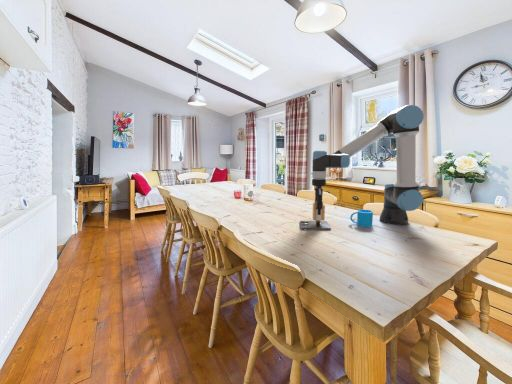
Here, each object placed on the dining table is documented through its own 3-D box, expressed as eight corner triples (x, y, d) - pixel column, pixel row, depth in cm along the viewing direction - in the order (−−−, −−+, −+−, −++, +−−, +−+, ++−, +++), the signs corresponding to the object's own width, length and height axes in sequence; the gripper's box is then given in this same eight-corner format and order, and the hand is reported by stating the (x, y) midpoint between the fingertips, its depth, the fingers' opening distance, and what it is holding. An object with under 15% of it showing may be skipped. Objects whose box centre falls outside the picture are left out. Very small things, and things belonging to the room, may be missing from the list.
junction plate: (327, 222, 147) (327, 212, 146) (330, 230, 133) (331, 219, 132) (300, 222, 149) (300, 212, 148) (301, 229, 135) (301, 218, 134)
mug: (371, 223, 145) (371, 209, 143) (373, 227, 137) (374, 213, 136) (349, 222, 148) (350, 208, 147) (350, 225, 140) (351, 212, 139)
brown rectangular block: (322, 217, 143) (323, 200, 141) (324, 220, 137) (324, 203, 135) (312, 217, 144) (312, 200, 142) (313, 220, 138) (313, 202, 136)
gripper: (310, 176, 146) (310, 214, 150) (313, 180, 128) (312, 223, 131) (323, 176, 145) (322, 214, 149) (328, 180, 127) (327, 223, 130)
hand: (318, 218), depth 140 cm, fingers closed on brown rectangular block, 6 cm apart
